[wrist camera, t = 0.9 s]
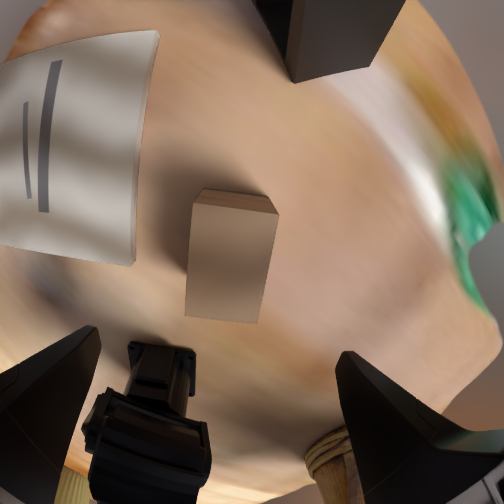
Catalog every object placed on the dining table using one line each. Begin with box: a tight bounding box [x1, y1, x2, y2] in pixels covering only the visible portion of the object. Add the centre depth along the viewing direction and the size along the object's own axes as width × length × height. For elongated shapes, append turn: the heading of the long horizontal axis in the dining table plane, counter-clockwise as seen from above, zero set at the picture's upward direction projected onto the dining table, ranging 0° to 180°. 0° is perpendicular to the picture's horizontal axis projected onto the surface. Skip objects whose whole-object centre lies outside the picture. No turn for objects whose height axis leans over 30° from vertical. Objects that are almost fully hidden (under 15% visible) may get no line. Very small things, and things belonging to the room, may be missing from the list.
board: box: [0, 30, 160, 267], centre depth 16 cm, size 17×16×1 cm
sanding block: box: [185, 188, 279, 324], centre depth 18 cm, size 7×4×5 cm, turn 171°
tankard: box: [305, 426, 365, 504], centre depth 21 cm, size 18×24×25 cm
